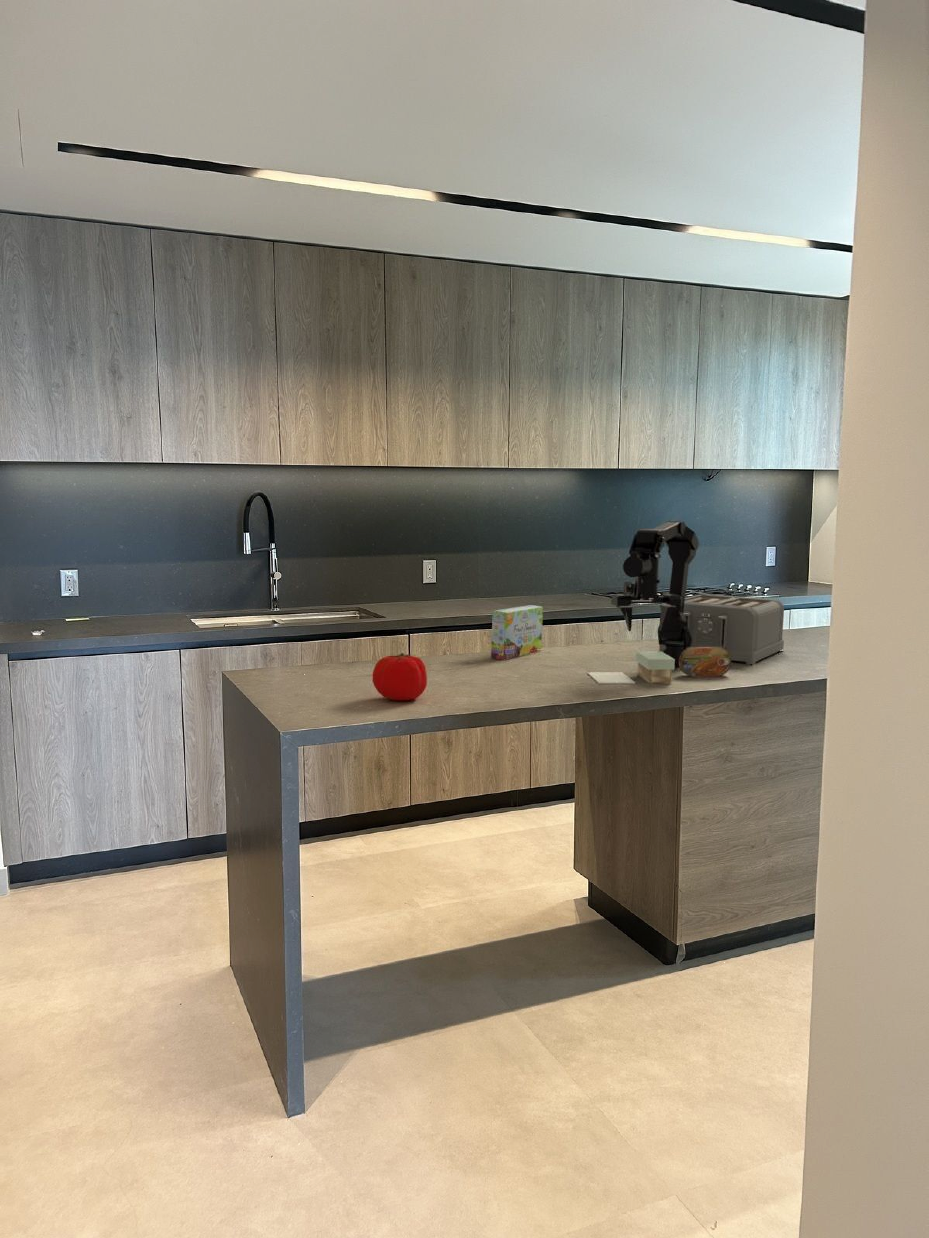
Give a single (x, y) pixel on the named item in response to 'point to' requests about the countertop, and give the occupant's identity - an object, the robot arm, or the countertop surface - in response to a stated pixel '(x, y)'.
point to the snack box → (516, 631)
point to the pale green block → (655, 660)
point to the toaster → (735, 625)
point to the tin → (705, 661)
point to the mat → (611, 678)
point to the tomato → (400, 677)
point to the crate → (655, 675)
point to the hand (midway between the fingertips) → (645, 630)
